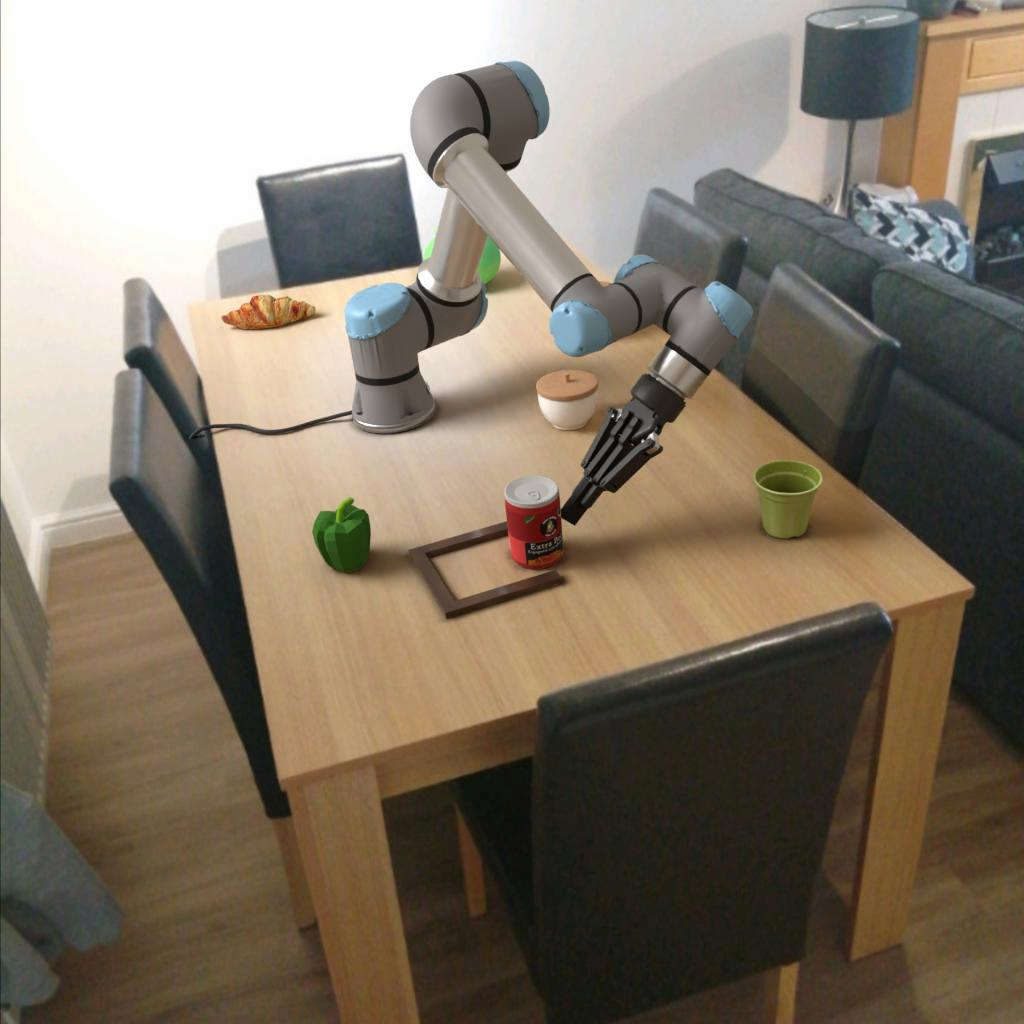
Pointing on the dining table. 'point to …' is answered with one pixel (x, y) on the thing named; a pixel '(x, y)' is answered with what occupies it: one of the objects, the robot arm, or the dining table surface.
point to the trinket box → (568, 398)
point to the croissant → (268, 312)
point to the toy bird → (488, 260)
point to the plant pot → (786, 496)
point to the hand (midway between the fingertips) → (566, 519)
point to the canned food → (534, 521)
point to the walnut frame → (480, 599)
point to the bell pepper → (343, 536)
